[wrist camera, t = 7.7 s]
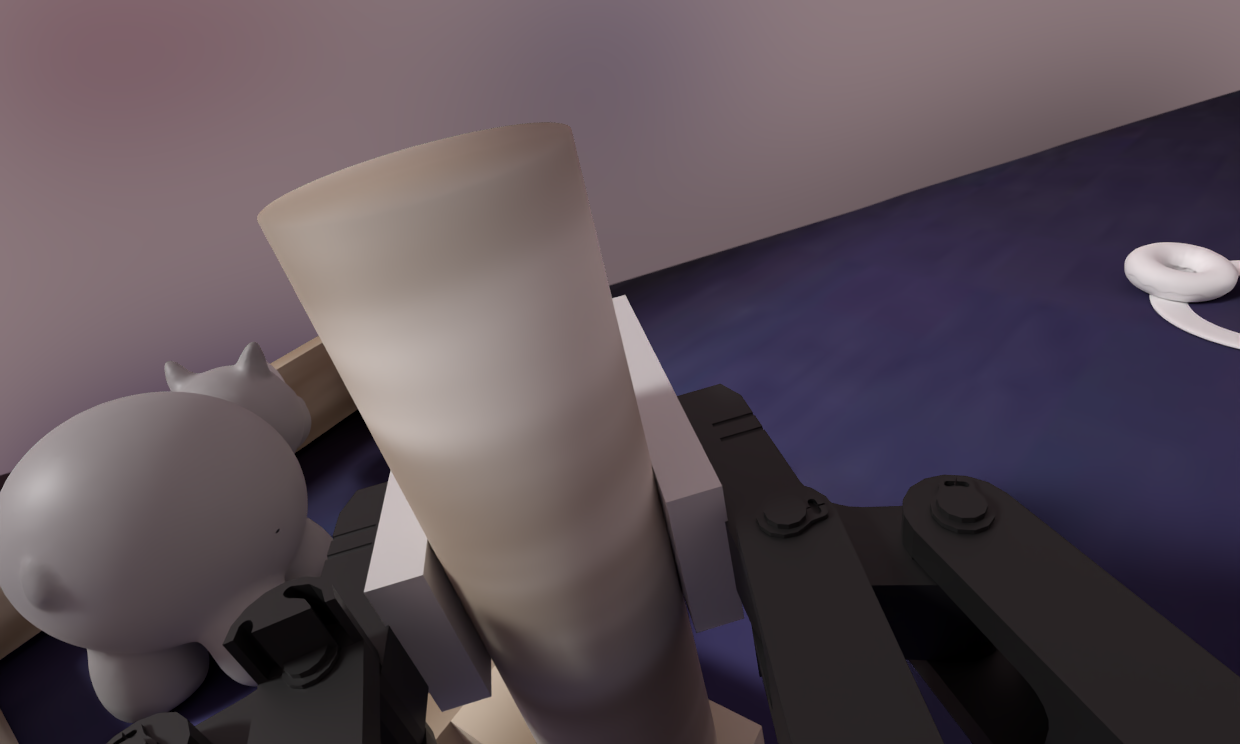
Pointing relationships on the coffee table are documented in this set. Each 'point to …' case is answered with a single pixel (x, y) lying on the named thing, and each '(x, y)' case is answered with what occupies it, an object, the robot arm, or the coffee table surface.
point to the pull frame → (499, 429)
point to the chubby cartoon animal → (161, 528)
